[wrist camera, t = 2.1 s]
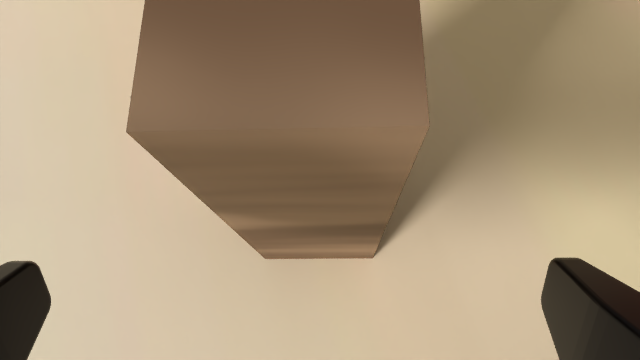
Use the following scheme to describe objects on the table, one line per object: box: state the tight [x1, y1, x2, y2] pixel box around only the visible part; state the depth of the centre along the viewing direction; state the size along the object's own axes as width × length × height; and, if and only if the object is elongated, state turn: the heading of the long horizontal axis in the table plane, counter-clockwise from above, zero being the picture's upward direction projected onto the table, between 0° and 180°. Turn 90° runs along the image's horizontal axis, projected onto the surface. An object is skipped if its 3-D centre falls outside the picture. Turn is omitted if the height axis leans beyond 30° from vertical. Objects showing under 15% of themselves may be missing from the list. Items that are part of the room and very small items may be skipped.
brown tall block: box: [126, 0, 430, 259], centre depth 14 cm, size 4×4×13 cm
